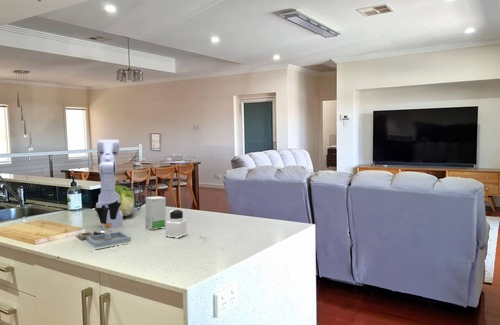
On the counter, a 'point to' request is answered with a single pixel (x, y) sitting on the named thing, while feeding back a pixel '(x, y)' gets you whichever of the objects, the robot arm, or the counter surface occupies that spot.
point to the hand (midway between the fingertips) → (108, 221)
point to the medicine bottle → (175, 223)
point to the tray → (123, 239)
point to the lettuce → (125, 199)
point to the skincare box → (155, 212)
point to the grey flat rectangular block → (90, 234)
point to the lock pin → (107, 231)
